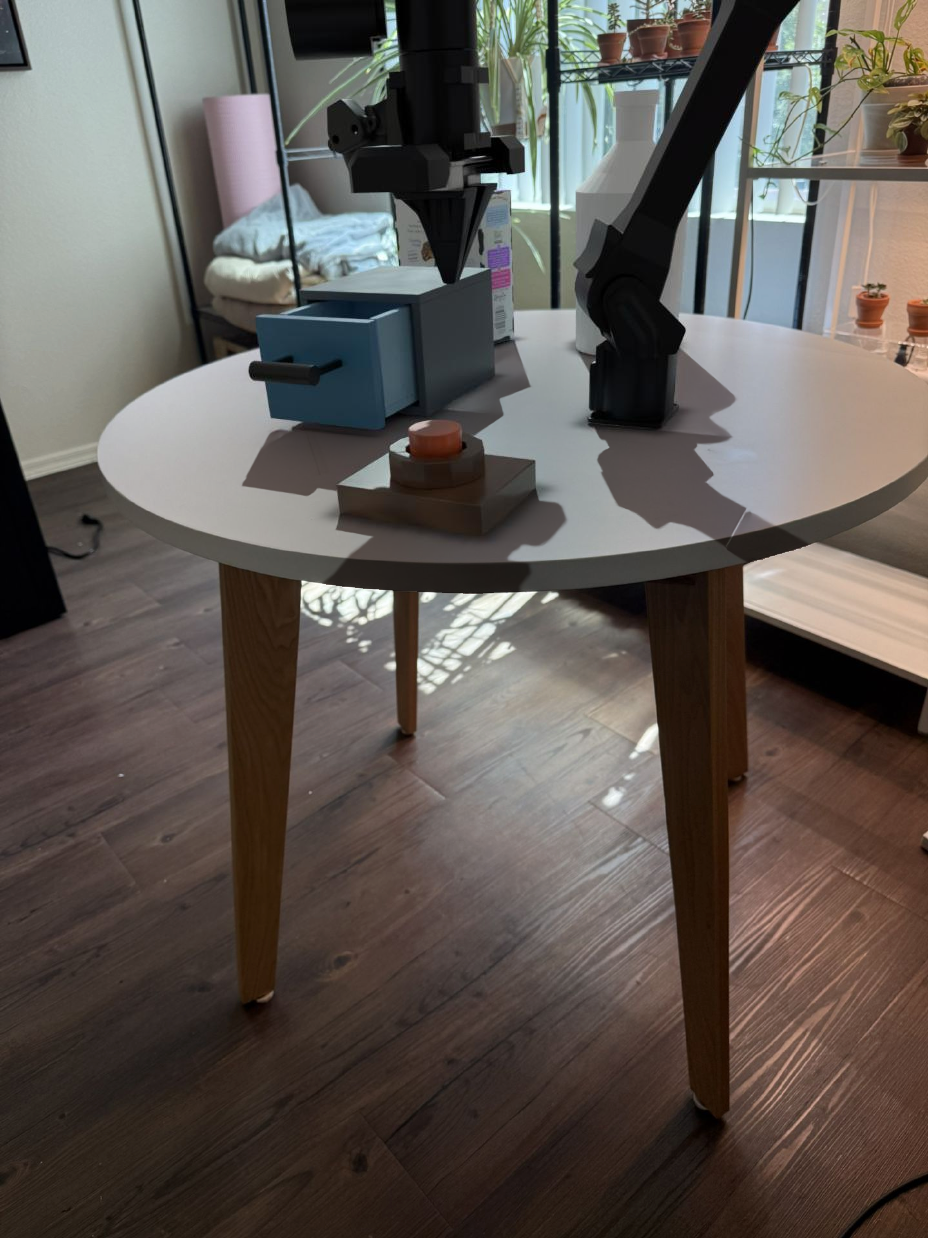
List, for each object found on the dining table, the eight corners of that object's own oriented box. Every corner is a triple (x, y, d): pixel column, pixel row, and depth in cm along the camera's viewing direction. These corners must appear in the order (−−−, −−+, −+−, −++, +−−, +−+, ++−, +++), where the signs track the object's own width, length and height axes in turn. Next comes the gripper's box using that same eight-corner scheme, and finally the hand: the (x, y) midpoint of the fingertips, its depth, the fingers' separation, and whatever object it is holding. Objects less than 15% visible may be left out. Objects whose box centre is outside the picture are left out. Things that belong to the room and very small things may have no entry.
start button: (471, 446, 61) (470, 422, 60) (447, 463, 58) (445, 438, 57) (426, 441, 62) (424, 417, 61) (400, 457, 59) (398, 432, 59)
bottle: (569, 336, 106) (572, 95, 93) (669, 332, 105) (685, 88, 93) (577, 359, 95) (581, 92, 83) (687, 355, 95) (708, 85, 82)
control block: (536, 488, 63) (535, 434, 61) (482, 537, 56) (479, 478, 54) (404, 471, 68) (399, 420, 66) (339, 514, 61) (332, 459, 59)
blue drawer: (345, 448, 70) (332, 336, 66) (234, 435, 75) (214, 328, 70) (451, 388, 84) (446, 292, 80) (352, 380, 89) (342, 288, 85)
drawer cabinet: (427, 416, 80) (418, 294, 75) (314, 404, 85) (298, 289, 80) (495, 376, 91) (491, 267, 86) (391, 368, 96) (381, 265, 91)
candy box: (516, 338, 106) (514, 187, 98) (485, 348, 102) (479, 192, 94) (434, 327, 114) (425, 187, 106) (402, 336, 110) (390, 191, 102)
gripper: (401, 64, 73) (416, 264, 81) (268, 58, 59) (302, 302, 66) (526, 53, 69) (528, 265, 77) (415, 43, 54) (433, 306, 62)
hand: (450, 283), depth 71 cm, fingers closed
